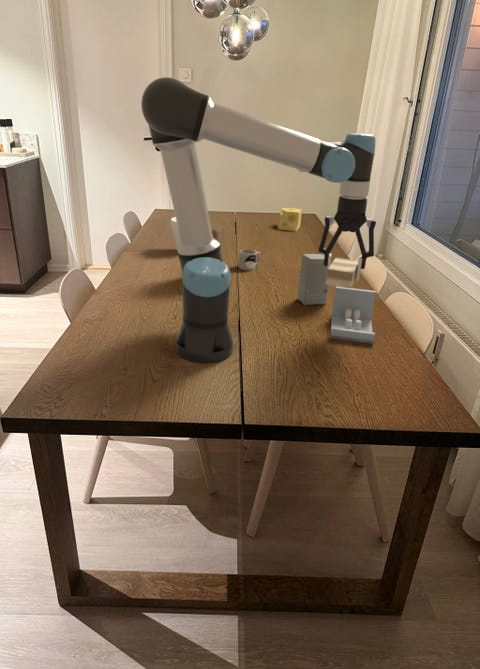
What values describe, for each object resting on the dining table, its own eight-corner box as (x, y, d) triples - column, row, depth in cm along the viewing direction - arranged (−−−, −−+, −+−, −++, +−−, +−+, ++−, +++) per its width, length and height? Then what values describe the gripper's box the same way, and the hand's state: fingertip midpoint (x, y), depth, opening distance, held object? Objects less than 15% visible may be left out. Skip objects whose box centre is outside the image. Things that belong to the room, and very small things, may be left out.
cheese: (277, 229, 253) (279, 210, 249) (281, 225, 262) (283, 206, 258) (297, 232, 251) (299, 212, 246) (300, 227, 260) (303, 208, 255)
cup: (203, 254, 206) (204, 222, 200) (175, 256, 201) (175, 223, 195) (194, 246, 216) (195, 215, 210) (167, 248, 212) (167, 216, 206)
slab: (350, 288, 133) (352, 272, 131) (325, 284, 136) (327, 268, 134) (357, 275, 144) (359, 261, 142) (334, 272, 146) (335, 257, 144)
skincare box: (303, 305, 161) (309, 259, 154) (295, 297, 167) (300, 253, 160) (327, 304, 163) (333, 258, 156) (318, 296, 169) (324, 252, 162)
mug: (245, 271, 189) (246, 254, 187) (235, 266, 194) (235, 250, 191) (264, 267, 195) (266, 251, 192) (254, 262, 200) (255, 247, 197)
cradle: (373, 343, 138) (379, 311, 134) (330, 338, 140) (335, 306, 136) (370, 320, 153) (375, 291, 149) (331, 316, 155) (336, 286, 150)
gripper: (391, 196, 131) (378, 277, 141) (314, 191, 134) (307, 270, 144) (394, 201, 124) (380, 285, 134) (313, 196, 127) (305, 278, 138)
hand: (342, 277), depth 139 cm, fingers closed on slab, 8 cm apart
